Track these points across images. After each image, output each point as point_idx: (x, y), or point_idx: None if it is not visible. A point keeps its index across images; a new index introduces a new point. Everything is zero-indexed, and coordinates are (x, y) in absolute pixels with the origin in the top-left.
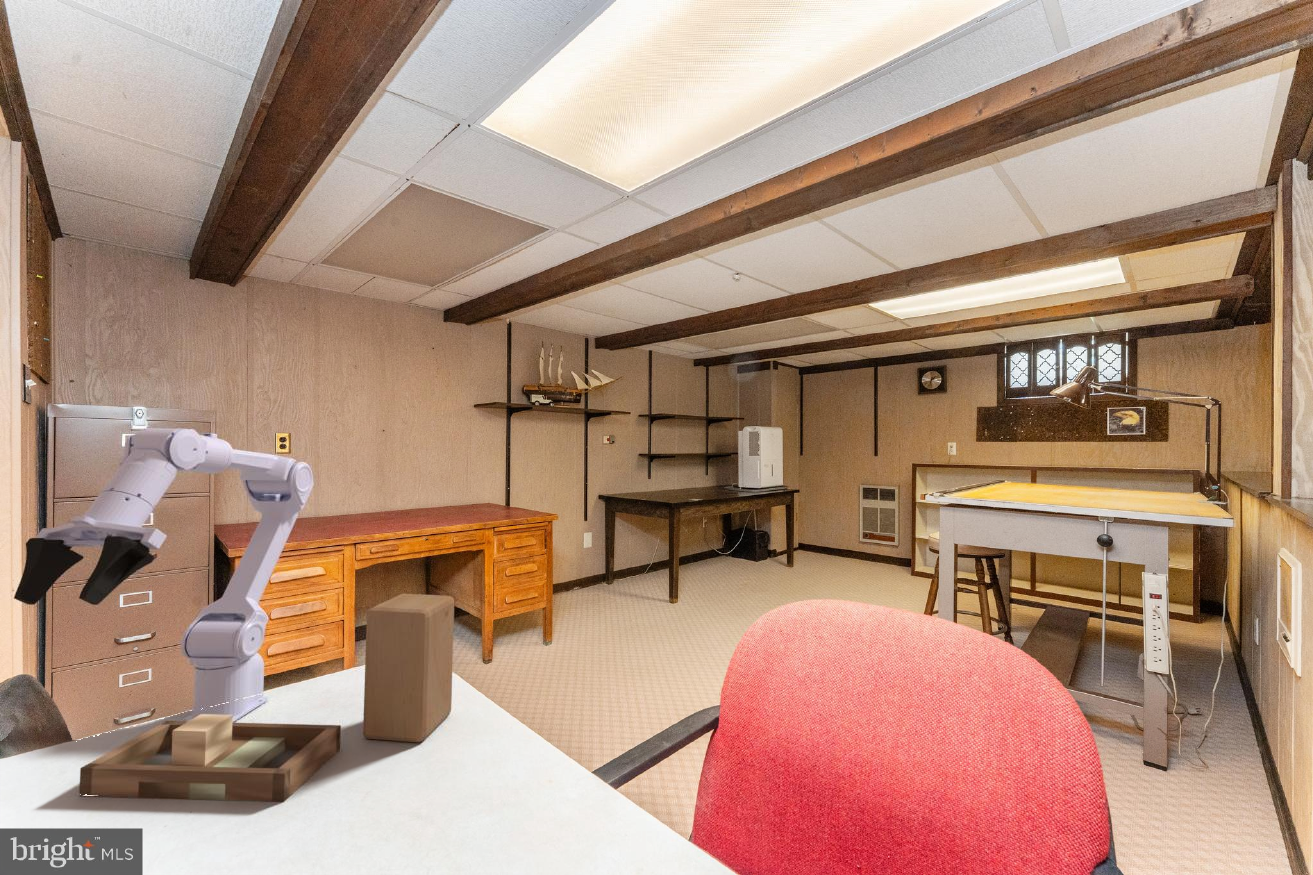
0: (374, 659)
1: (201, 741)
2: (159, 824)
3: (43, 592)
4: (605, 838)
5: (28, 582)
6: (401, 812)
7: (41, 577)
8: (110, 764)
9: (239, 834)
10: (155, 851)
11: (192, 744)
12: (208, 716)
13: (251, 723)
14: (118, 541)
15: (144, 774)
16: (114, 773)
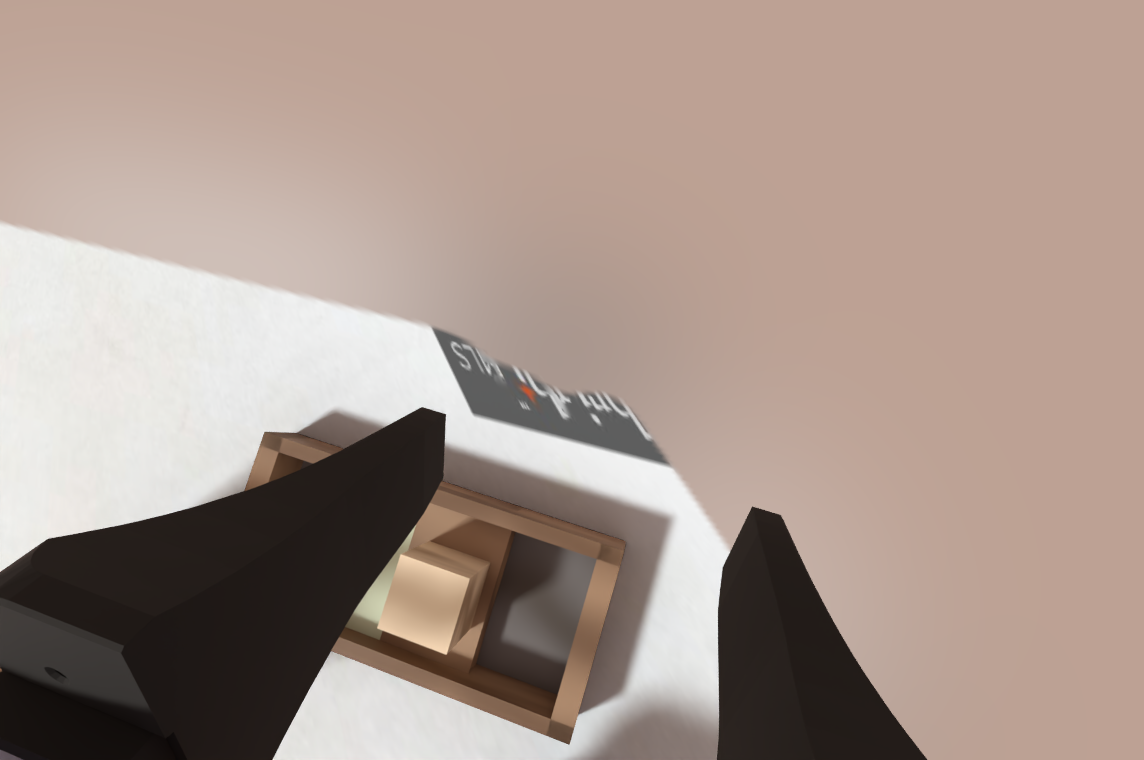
0: (1, 670)
1: (418, 553)
2: (453, 418)
3: (724, 631)
4: None
5: (761, 572)
6: (134, 361)
7: (747, 655)
8: (575, 550)
9: (333, 363)
10: (428, 351)
11: (438, 557)
12: (425, 634)
13: (381, 668)
14: (56, 561)
15: (504, 509)
16: (559, 528)
